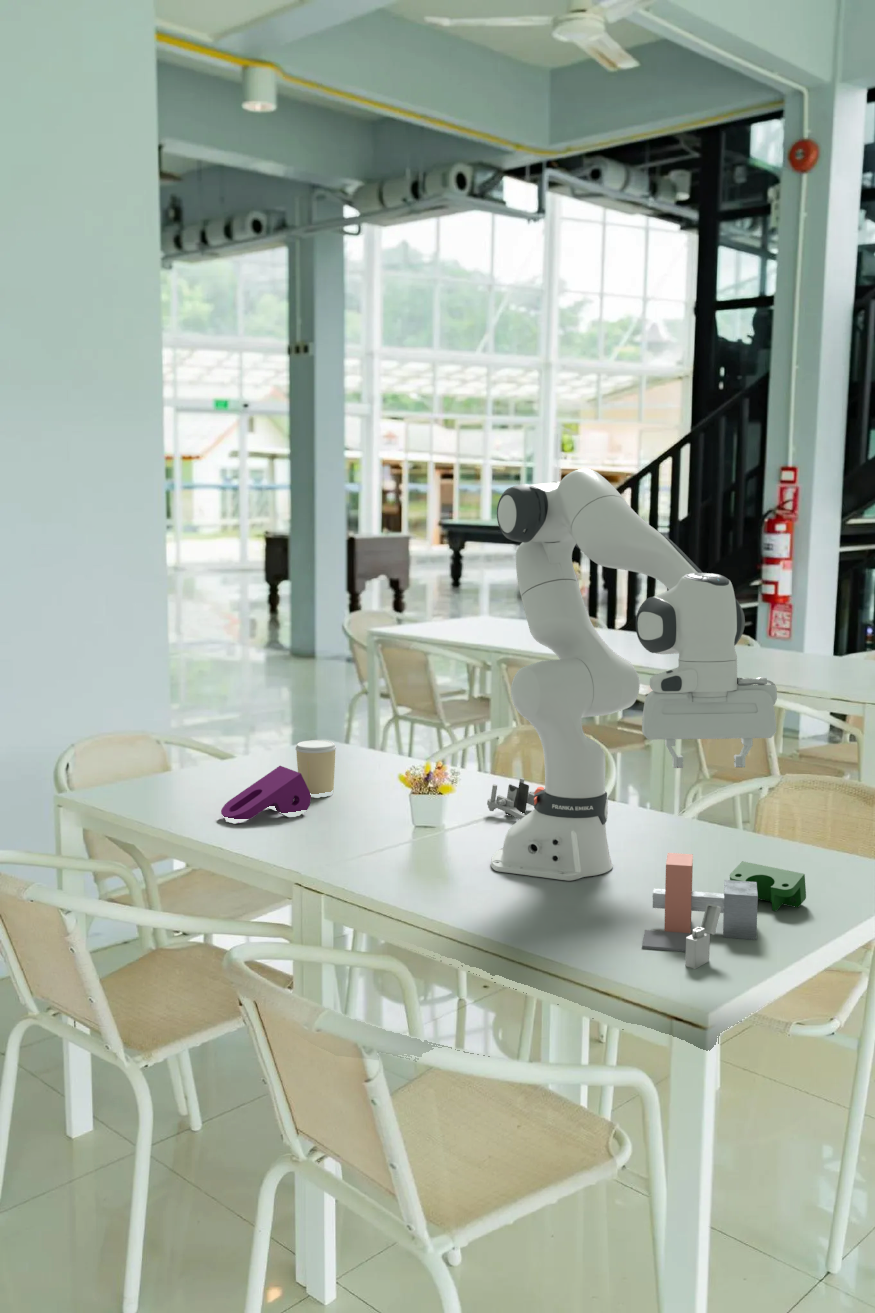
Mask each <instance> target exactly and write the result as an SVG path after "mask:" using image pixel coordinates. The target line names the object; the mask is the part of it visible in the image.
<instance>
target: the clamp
mask: <svg viewBox="0 0 875 1313" xmlns="http://www.w3.org/2000/svg"><path fill="white" fill-rule="evenodd" d="M805 875H806V874H805V873H802V872H799V871H793V870H788V869H782V868H778V867H772V866H768V865H763V864H758V863H752V862H748V861H747V862H746V861H740V863H739V864H738V865H737V866H736V867H735V868H734V869H733V870H732V872H731V873H729V880H733V881H748V882H756V883H757V893H758V900H760V899H762V900H761V901H766V902H769V901H770V902H771V908H772V910H773V912H777V911H778V910H779V909H780V908H781V907H782V906H783V904H785V905H784V906H787V905H789V906H788V907H792V906H795V907H794V908H796V907H797V908H799V907H800V906H801V905H802V904H803V903H804V902H805V901H806V900H807V891H806V890H807V889H806V888H807V887H806V876H805ZM772 910H771V911H772Z"/></svg>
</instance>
